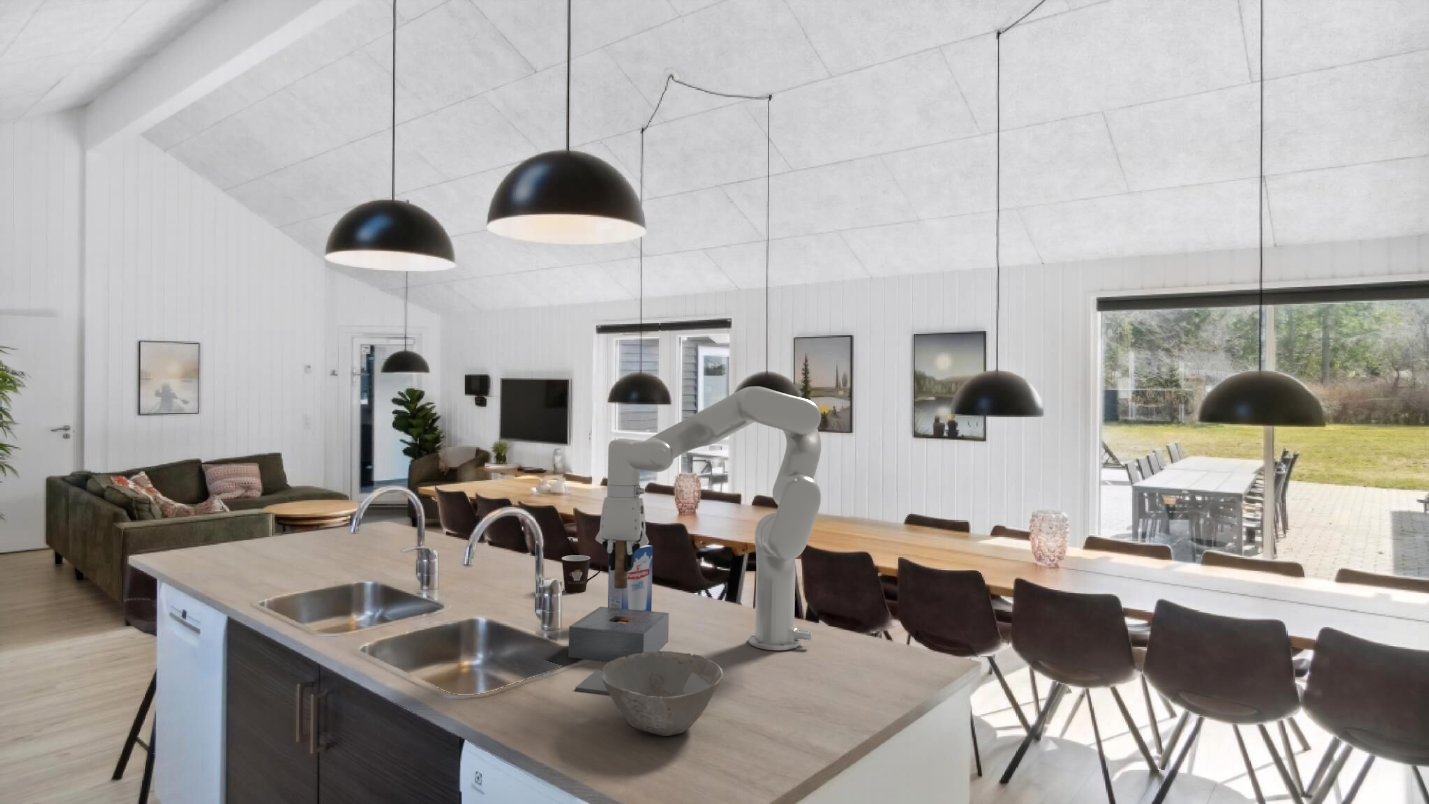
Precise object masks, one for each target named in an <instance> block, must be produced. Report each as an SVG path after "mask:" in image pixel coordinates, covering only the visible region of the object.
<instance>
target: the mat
mask: <svg viewBox="0 0 1429 804" xmlns="http://www.w3.org/2000/svg"><path fill="white" fill-rule="evenodd" d="M575 691H578V692H586V693H594V694H602V695H609V696H610V694H609V693H608V691H607V689H606V687H605V685H604V683H603V680H602V678H601V670H600V671H599V670H595V671H593V672H592V673H591V674H590V675H588V676H587V677H586V678H585V679H584V680H582V682H580V683H579V684H578V685H577V686H575Z"/></svg>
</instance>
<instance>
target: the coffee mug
mask: <svg viewBox="0 0 1429 804" xmlns="http://www.w3.org/2000/svg"><path fill="white" fill-rule="evenodd" d="M590 561H591V557H590V556H588V555H584V554H583V555H582V554H579V555H576V554H575V555H573V554H571V555H566V556H562V557H561V564H562V576H563V586H564V592H565V591H566V592H565V593H568V594H582V593H585V592H586V591H587V585H588V582H589V581H591V580H592V579H594V578H595V577H597V576H598V575H599V574H600V573H601V572H602V570H603V565H602V563H601V562H600V561H598V560H594V561H592V562H590ZM594 564H598V565H599V567H600V569H599V570H598V572H596V573H595V574H593V575H592V576H590V577H589V570H590V568H591V567H592V565H594Z"/></svg>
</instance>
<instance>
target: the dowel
mask: <svg viewBox="0 0 1429 804" xmlns="http://www.w3.org/2000/svg"><path fill="white" fill-rule="evenodd" d="M626 554H627V541H616V540H615V574H614V588H617V589H624V588H627V572H625V555H626Z"/></svg>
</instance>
